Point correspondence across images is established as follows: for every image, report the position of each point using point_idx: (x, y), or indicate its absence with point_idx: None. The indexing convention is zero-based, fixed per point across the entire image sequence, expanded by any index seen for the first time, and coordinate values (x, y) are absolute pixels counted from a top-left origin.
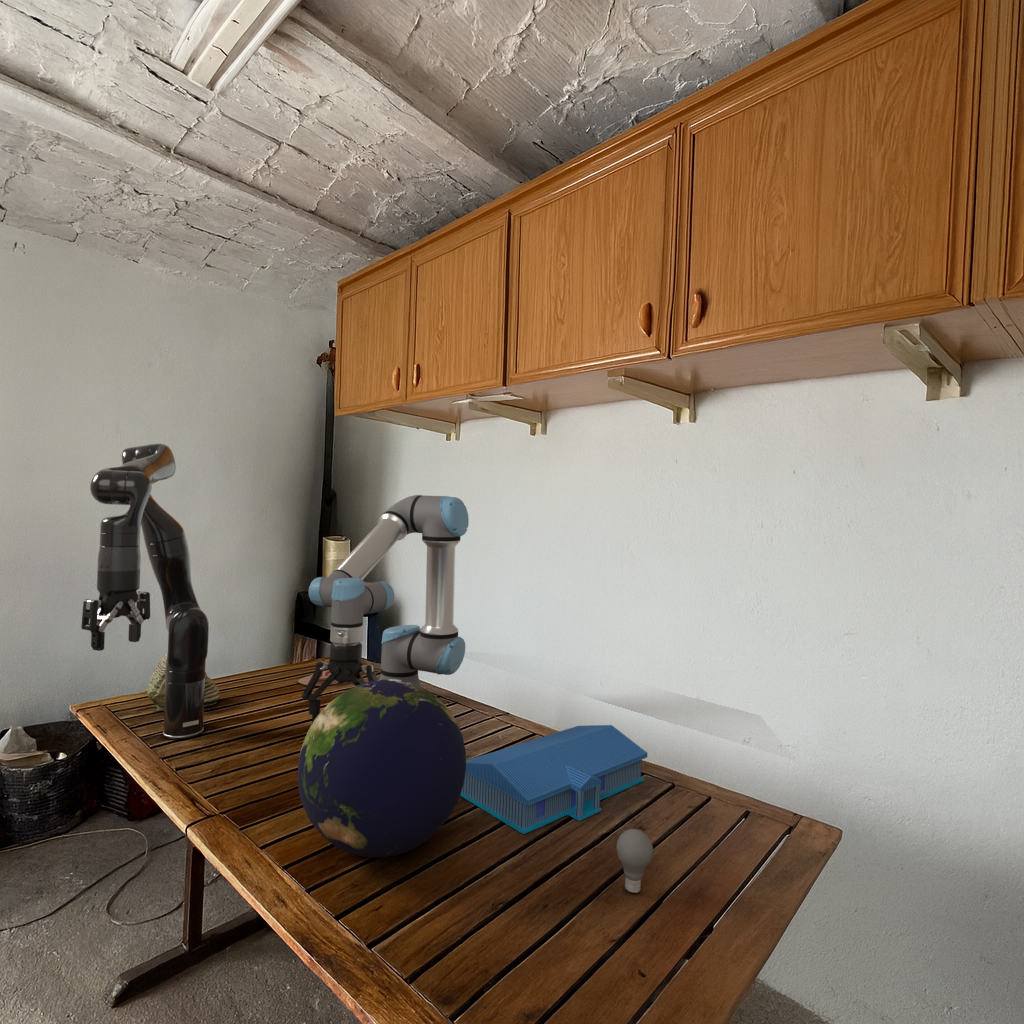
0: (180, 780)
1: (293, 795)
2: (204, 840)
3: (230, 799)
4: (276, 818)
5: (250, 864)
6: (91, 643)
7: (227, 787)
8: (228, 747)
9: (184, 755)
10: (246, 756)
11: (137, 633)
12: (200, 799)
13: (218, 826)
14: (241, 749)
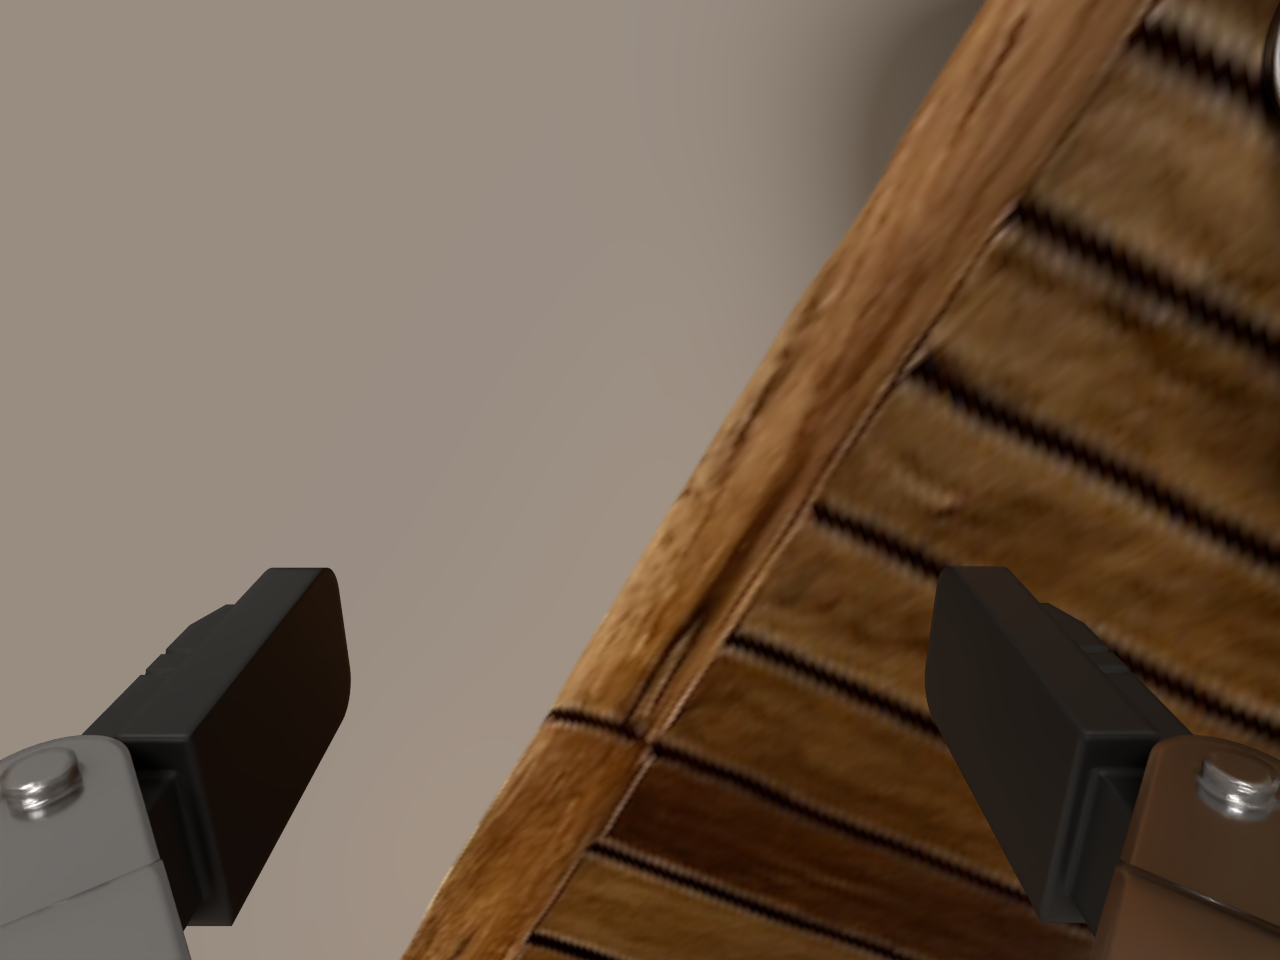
0: (827, 460)
1: (832, 862)
2: (501, 802)
3: (745, 716)
4: (682, 893)
5: (457, 955)
6: (171, 654)
7: (824, 653)
8: (1202, 406)
9: (1072, 281)
10: (1113, 543)
11: (980, 793)
12: (712, 632)
13: (581, 788)
14: (1187, 476)
